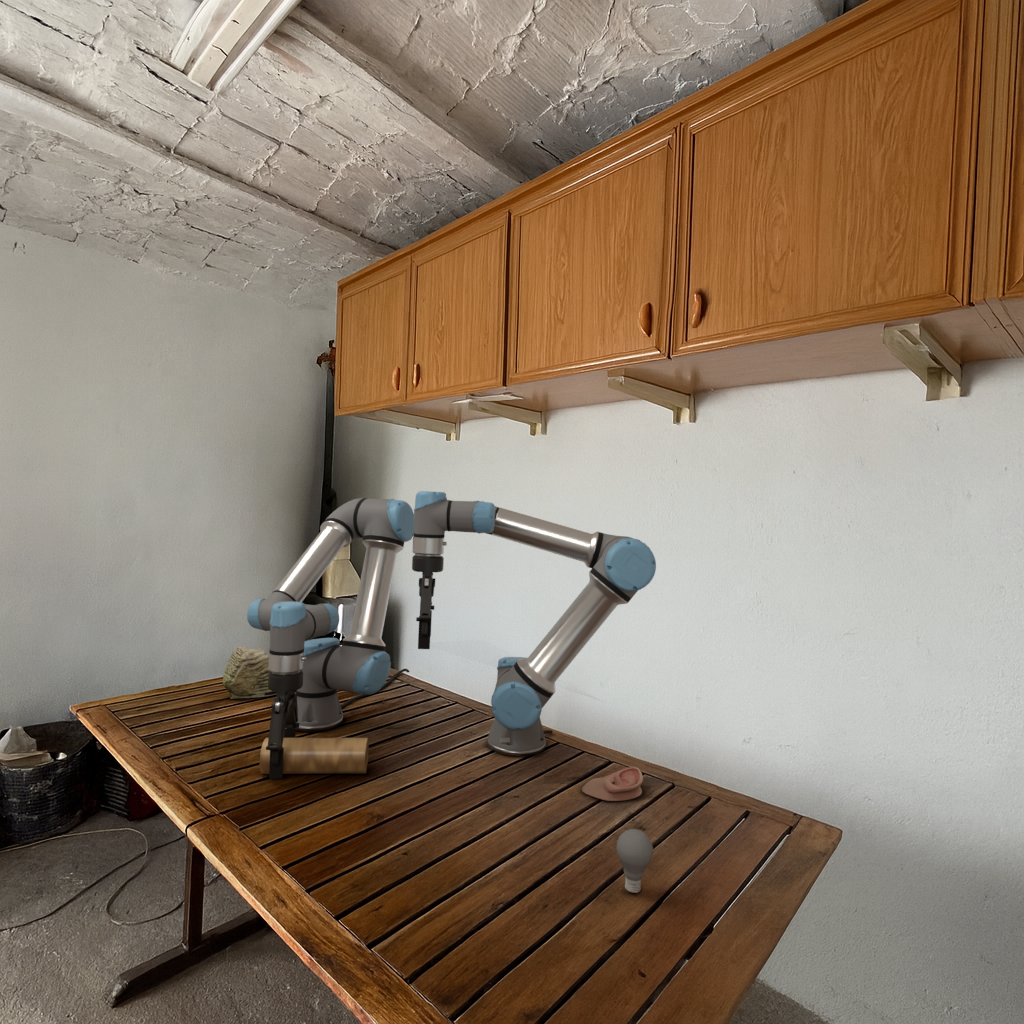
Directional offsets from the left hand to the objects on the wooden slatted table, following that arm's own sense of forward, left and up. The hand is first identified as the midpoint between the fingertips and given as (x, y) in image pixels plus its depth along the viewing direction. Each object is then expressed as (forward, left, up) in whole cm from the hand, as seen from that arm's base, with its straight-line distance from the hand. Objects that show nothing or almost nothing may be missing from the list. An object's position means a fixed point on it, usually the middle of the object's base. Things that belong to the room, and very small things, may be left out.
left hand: (282, 766), depth 145 cm
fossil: (-24, -55, -1) cm, 60 cm away
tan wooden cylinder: (-5, +5, -1) cm, 8 cm away
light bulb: (-15, +81, -1) cm, 83 cm away
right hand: (-26, +17, +28) cm, 42 cm away
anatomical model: (-45, +60, -1) cm, 75 cm away
